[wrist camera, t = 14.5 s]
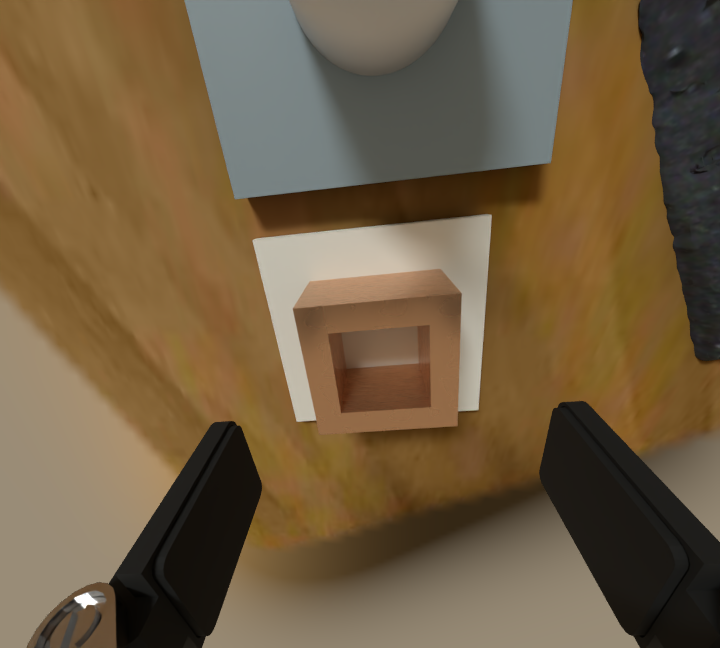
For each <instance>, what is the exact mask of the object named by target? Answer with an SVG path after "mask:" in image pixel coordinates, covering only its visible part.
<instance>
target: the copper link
mask: <svg viewBox="0 0 720 648" xmlns="http://www.w3.org/2000/svg"><path fill="white" fill-rule="evenodd" d="M461 301H462V293H461V292H460V291H459V289H458V288H457V287H456V286H455V285H454V284H453V282H452V281H451V280H450V279H449V278H448V277H447V276H446V274H445V273H444V272H443V271H442V270H441V269H432V270H422V271H412V272H401V273H391V274H381V275H371V276H360V277H350V278H340V279H330V280H319V281H309V283H308V285H307V286H306V288H305V289H304V291H303V293H302V294H301V296H300V298H299V299H298V301H297V302H296V304H295V306H294V307H293V313H294V318H295V322H296V327H297V332H298V336H299V341H300V346H301V351H302V355H303V360H304V365H305V369H306V374H307V379H308V383H309V388H310V393H311V398H312V402H313V407H314V412H315V416H316V421H317V426H318V430H319V435H323V434H339V433H355V432H371V431H387V430H403V429H419V428H435V427H451V426H458V396H459V364H460V333H461ZM412 326H417V329H418V359H419V363H416V364H403V365H390V366H377V367H364V368H351V369H346V362H345V355H344V349H343V342H342V335H341V333H342V332H353V331H365V330H377V329H388V328H400V327H412Z"/></svg>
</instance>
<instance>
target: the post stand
mask: <svg viewBox="0 0 720 648" xmlns="http://www.w3.org/2000/svg"><path fill="white" fill-rule="evenodd" d="M572 2H573V0H185V4H186V8H187V12H188V16H189V20H190V24H191V28H192V32H193V36H194V40H195V43H196V47H197V51H198V55H199V59H200V63H201V67H202V71H203V75H204V79H205V83H206V87H207V91H208V95H209V99H210V103H211V107H212V111H213V115H214V118H215V122H216V126H217V130H218V134H219V138H220V142H221V146H222V150H223V154H224V158H225V162H226V166H227V170H228V174H229V178H230V182H231V186H232V190H233V193H234V197H235V199H242V198H251V197H260V196H268V195H277V194H286V193H294V192H303V191H312V190H321V189H329V188H338V187H347V186H355V185H364V184H373V183H381V182H390V181H399V180H407V179H416V178H425V177H433V176H442V175H451V174H459V173H468V172H477V171H486V170H494V169H503V168H512V167H520V166H529V165H537V164H545V163H551V157H552V149H553V142H554V135H555V127H556V120H557V113H558V105H559V98H560V91H561V83H562V76H563V68H564V61H565V54H566V46H567V39H568V32H569V24H570V17H571V9H572Z"/></svg>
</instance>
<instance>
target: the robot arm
mask: <svg viewBox="0 0 720 648" xmlns="http://www.w3.org/2000/svg"><path fill="white" fill-rule="evenodd" d="M539 474H540V479H541V482H542V484H543V486H544V488H545V490H546V492H547V494H548V495H549V497H550V499H551V501H552V503H553V504H554V506H555V508H556V510H557V512H558V513H559V515H560V517H561V519H562V521H563V522H564V524H565V526H566V528H567V530H568V531H569V533H570V535H571V537H572V539H573V540H574V542H575V544H576V546H577V548H578V549H579V551H580V553H581V555H582V557H583V559H584V560H585V562H586V564H587V566H588V567H589V569H590V571H591V573H592V575H593V577H594V578H595V580H596V582H597V584H598V586H599V587H600V589H601V591H602V593H603V595H604V596H605V598H606V600H607V602H608V604H609V605H610V607H611V609H612V611H613V613H614V614H615V616H616V618H617V620H618V622H619V623H620V625H621V626H622V628H623V629H624V630H625V632H626V633H628V634H629V635H632V636H634V637H635V639H636V641H637V643H638V645H639V646H640V648H720V542H719V541H718V540H717V539H716V538H715V537H714V536H713V535H712V534H711V533H710V531H709V530H708V529H707V528H705V526H704V525H703V524H702V523H701V522H700V521H699V520H698V519H697V518H696V517H695V516H694V515H693V514H692V513H691V512H690V511H689V509H688V508H687V507H686V506H685V505H684V504H683V503H682V502H681V501H680V500H679V499H678V498H677V497H676V496H675V495H674V494H673V493H672V492H671V491H670V489H668V487H667V486H666V485H665V484H664V483H663V482H662V481H661V480H660V479H659V478H658V477H657V476H656V475H655V474H654V473H653V472H652V470H651V469H649V467H648V466H647V465H646V464H645V463H644V462H643V461H642V460H641V459H640V458H639V457H638V456H637V455H636V454H635V453H634V452H633V451H632V450H631V449H630V448H629V447H628V445H627V444H626V443H625V442H624V441H623V440H622V439H621V438H620V437H619V436H618V435H617V434H616V433H615V432H614V431H613V430H612V429H611V428H610V427H609V426H608V424H607V423H606V422H605V421H604V420H603V419H602V418H601V417H600V416H599V415H598V414H597V413H596V412H595V411H594V410H593V409H592V408H591V407H590V406H589V405H588V404H587V403H586V402H584V401H576V402H562V403H560V404H559V405H558V408H554V409H553V411H552V416H551V420H550V425H549V430H548V434H547V439H546V443H545V448H544V453H543V457H542V462H541V466H540V472H539ZM261 491H262V483H261V480H260V477H259V475H258V472H257V469H256V466H255V464H254V461H253V458H252V455H251V453H250V450H249V447H248V444H247V442H246V439H245V436H244V433H243V431H242V428H241V427H240V426H237V425H236V423H235V422H234V421H227V422H215V423H213V424H212V425H211V426H210V428H209V429H208V431H207V432H206V434H205V435H204V437H203V438H202V440H201V442H200V443H199V445H198V446H197V448H196V449H195V451H194V452H193V454H192V456H191V457H190V459H189V460H188V462H187V463H186V465H185V466H184V468H183V469H182V471H181V473H180V474H179V476H178V477H177V479H176V480H175V482H174V483H173V485H172V486H171V488H170V490H169V491H168V493H167V494H166V496H165V497H164V499H163V500H162V502H161V503H160V505H159V507H158V508H157V510H156V511H155V513H154V514H153V516H152V517H151V519H150V520H149V522H148V524H147V525H146V527H145V528H144V530H143V531H142V533H141V534H140V536H139V538H138V539H137V541H136V542H135V544H134V545H133V547H132V548H131V550H130V551H129V553H128V555H127V556H126V558H125V559H124V561H123V562H122V564H121V565H120V567H119V569H118V570H117V572H116V573H115V575H114V576H113V578H112V579H111V581H110V583H109V584H108V583H102V582H97V583H94V584H90V585H87V586H85V587H83V588H81V589H79V590H77V591H75V592H74V593H72V594H71V595H70V596H68V597H67V598H66V599H64V600H63V601H61V602H60V603H59V604H58V605H57V606H56V607H55V608H54V609H53V610H52V611H51V612H50V613H49V614H48V615H47V617H46V618H45V619H44V620H43V621H42V623H41V624H40V625H39V627H38V628H37V629H36V631H35V632H34V634H33V636H32V637H31V639H30V641H29V643H28V645H27V648H202V646H203V643H204V640H205V637H206V636H209V635H210V634H211V633H212V631H213V629H214V627H215V625H216V622H217V619H218V616H219V614H220V611H221V608H222V605H223V602H224V599H225V596H226V593H227V591H228V588H229V585H230V582H231V579H232V576H233V573H234V570H235V568H236V565H237V562H238V559H239V556H240V553H241V550H242V548H243V545H244V542H245V539H246V536H247V533H248V530H249V527H250V525H251V522H252V519H253V516H254V513H255V510H256V507H257V504H258V501H259V499H260V496H261Z"/></svg>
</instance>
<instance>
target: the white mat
mask: <svg viewBox="0 0 720 648" xmlns="http://www.w3.org/2000/svg"><path fill="white" fill-rule="evenodd" d="M491 220H492V215H489V214H483V215H474V216H465V217H455V218H446V219H436V220H427V221H417V222H408V223H398V224H389V225H379V226H370V227H361V228H351V229H342V230H332V231H323V232H313V233H304V234H294V235H285V236H275V237H266V238H257V239H254V240H253V244H254V248H255V252H256V256H257V261H258V265H259V269H260V273H261V277H262V281H263V285H264V289H265V293H266V297H267V302H268V306H269V310H270V314H271V318H272V322H273V326H274V330H275V334H276V338H277V343H278V347H279V351H280V355H281V359H282V363H283V367H284V371H285V375H286V379H287V384H288V388H289V392H290V396H291V400H292V404H293V408H294V412H295V416H296V420H297V422H299V421H314V420H316V416H315V412H314V407H313V402H312V398H311V393H310V388H309V383H308V379H307V374H306V369H305V365H304V360H303V355H302V351H301V346H300V341H299V336H298V332H297V327H296V322H295V318H294V313H293V307H294V306H295V304H296V302H297V301H298V299H299V298H300V296H301V294H302V293H303V291H304V289H305V288H306V286H307V285H308V283H309V281H319V280H330V279H340V278H350V277H360V276H371V275H381V274H391V273H401V272H412V271H422V270H432V269H441V270H442V271H443V272H444V273H445V274H446V276H447V277H448V278H449V279H450V280H451V281H452V282H453V284H454V285H455V286H456V287H457V288H458V289H459V291H460V292H461V293H462V301H461V333H460V364H459V396H458V411H471V410H478V407H479V392H480V378H481V363H482V349H483V335H484V320H485V306H486V291H487V277H488V263H489V248H490V234H491ZM341 335H342V342H343V349H344V355H345V362H346V369H351V368H364V367H377V366H390V365H403V364H416V363H419V359H418V329H417V326H412V327H400V328H388V329H377V330H365V331H353V332H342V333H341Z"/></svg>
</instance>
